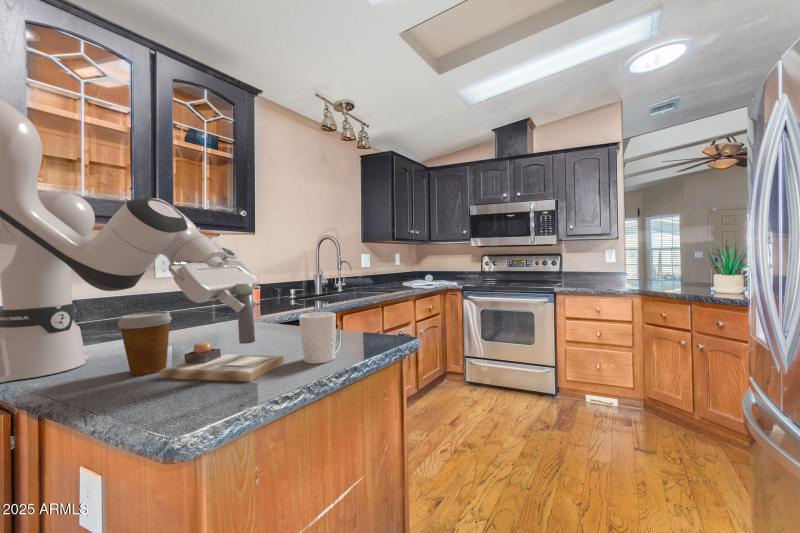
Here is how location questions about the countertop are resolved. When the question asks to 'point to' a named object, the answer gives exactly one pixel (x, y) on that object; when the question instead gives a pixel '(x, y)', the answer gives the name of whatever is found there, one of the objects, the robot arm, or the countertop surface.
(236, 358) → the wooden tray
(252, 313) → the marker
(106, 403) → the countertop surface
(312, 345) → the white cup
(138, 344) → the disposable coffee cup
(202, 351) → the button
